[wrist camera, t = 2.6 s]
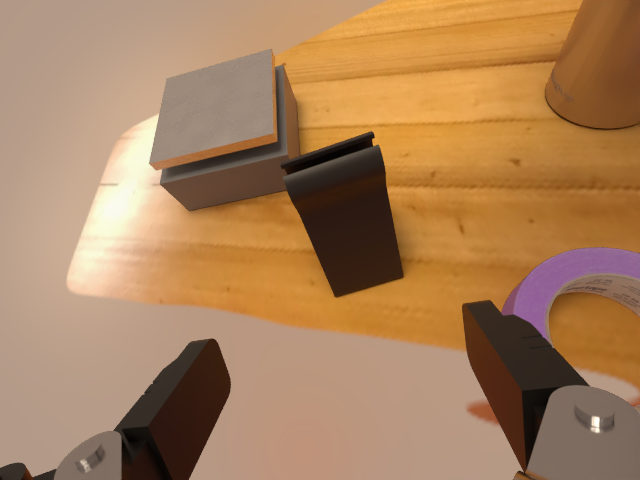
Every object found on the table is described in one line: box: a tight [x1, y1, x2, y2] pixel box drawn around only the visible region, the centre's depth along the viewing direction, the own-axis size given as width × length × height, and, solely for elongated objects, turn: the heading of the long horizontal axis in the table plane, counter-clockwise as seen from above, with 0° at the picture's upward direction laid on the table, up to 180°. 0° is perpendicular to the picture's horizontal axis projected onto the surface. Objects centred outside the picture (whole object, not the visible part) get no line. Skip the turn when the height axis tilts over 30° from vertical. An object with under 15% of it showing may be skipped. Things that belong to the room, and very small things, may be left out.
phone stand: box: [280, 131, 403, 297], centre depth 25 cm, size 9×6×12 cm, turn 13°
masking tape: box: [501, 247, 640, 413], centre depth 21 cm, size 12×12×4 cm
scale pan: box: [149, 49, 277, 170], centre depth 33 cm, size 12×12×1 cm
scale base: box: [160, 65, 300, 211], centre depth 36 cm, size 13×14×5 cm
